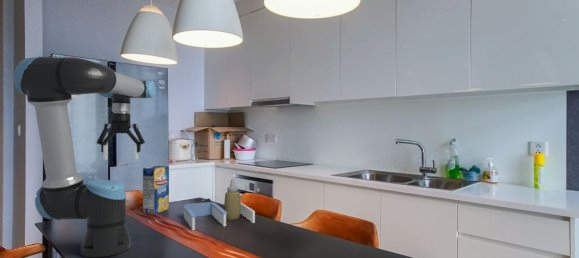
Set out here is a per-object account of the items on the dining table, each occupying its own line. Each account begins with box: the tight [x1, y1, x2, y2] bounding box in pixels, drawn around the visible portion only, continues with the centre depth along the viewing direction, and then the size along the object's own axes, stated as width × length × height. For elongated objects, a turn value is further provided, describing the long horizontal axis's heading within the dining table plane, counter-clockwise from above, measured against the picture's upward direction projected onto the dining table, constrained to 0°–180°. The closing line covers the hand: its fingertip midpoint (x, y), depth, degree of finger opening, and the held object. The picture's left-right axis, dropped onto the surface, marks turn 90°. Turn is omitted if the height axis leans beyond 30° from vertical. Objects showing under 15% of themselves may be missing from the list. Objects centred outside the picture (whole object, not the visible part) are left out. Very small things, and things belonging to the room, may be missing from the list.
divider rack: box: [182, 201, 256, 231], centre depth 155 cm, size 23×27×6 cm
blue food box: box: [142, 165, 170, 215], centre depth 173 cm, size 7×11×22 cm, turn 162°
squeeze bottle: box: [223, 178, 242, 221], centre depth 158 cm, size 8×8×18 cm
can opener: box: [197, 198, 212, 203], centre depth 172 cm, size 18×7×6 cm, turn 155°
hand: (120, 159), depth 156 cm, fingers open, 13 cm apart
